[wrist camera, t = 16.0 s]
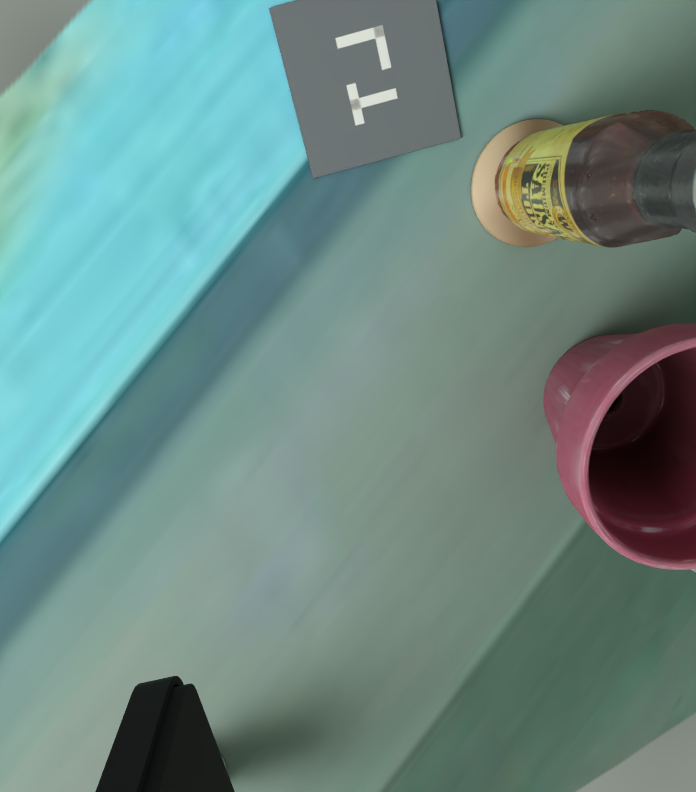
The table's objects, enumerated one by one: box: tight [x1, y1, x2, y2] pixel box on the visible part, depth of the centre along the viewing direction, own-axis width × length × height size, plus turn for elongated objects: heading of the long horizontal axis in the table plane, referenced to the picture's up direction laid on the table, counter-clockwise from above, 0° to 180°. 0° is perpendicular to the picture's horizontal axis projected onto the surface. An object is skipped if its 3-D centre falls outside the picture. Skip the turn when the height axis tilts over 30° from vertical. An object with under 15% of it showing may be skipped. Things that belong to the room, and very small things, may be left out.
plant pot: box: [544, 323, 696, 570], centre depth 39 cm, size 14×14×13 cm
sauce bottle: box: [495, 110, 696, 248], centre depth 30 cm, size 7×6×20 cm
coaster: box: [471, 119, 563, 247], centre depth 40 cm, size 8×8×1 cm
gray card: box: [269, 0, 461, 178], centre depth 37 cm, size 10×10×1 cm
